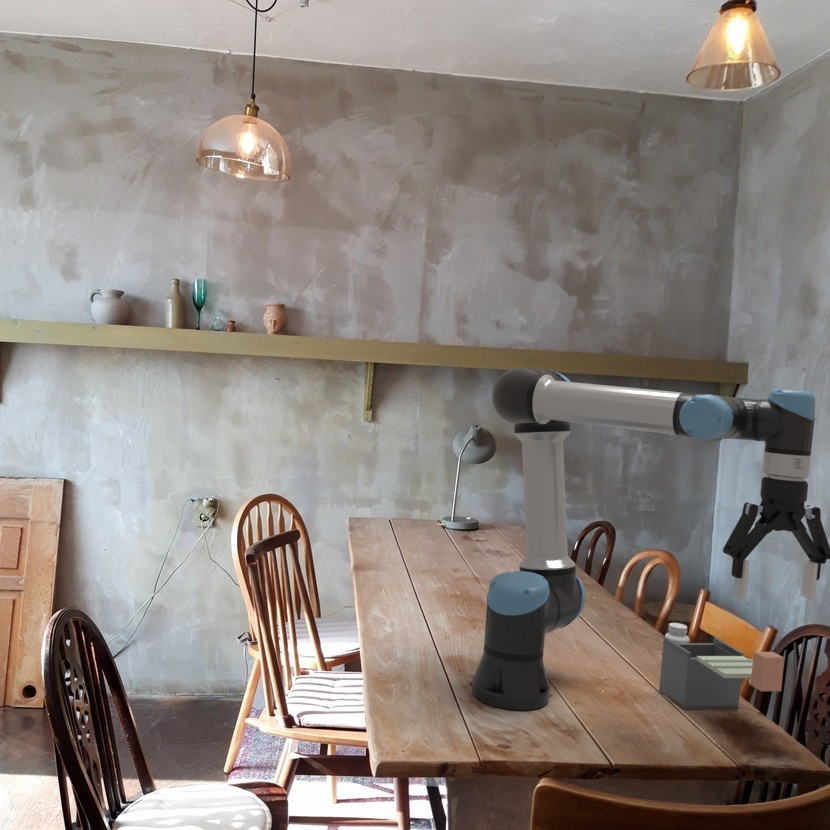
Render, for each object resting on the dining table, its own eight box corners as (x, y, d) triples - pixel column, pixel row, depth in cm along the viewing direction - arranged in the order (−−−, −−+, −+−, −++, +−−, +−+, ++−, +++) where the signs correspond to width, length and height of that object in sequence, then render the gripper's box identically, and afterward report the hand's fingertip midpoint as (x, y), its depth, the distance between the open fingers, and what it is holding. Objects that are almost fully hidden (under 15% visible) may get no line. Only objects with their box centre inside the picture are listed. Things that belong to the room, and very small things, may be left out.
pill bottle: (658, 663, 188) (662, 621, 188) (681, 664, 189) (684, 622, 189) (667, 671, 183) (671, 628, 183) (691, 672, 184) (695, 629, 183)
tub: (683, 709, 161) (688, 652, 161) (659, 690, 171) (663, 637, 170) (738, 708, 164) (743, 653, 164) (711, 690, 173) (716, 637, 173)
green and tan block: (745, 691, 144) (748, 657, 144) (696, 660, 160) (699, 629, 160) (796, 691, 147) (799, 657, 146) (742, 660, 162) (745, 629, 162)
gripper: (734, 477, 139) (722, 601, 140) (861, 484, 144) (850, 604, 145) (709, 471, 146) (698, 590, 147) (831, 478, 152) (820, 592, 153)
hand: (773, 597), depth 146 cm, fingers open, 13 cm apart
